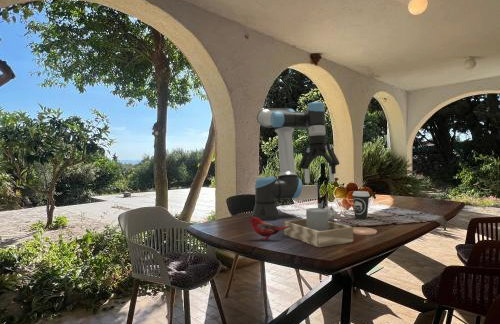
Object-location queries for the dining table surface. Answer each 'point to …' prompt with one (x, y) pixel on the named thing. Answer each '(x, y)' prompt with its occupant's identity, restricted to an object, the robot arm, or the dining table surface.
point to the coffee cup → (361, 204)
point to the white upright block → (317, 219)
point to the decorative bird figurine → (265, 228)
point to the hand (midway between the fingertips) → (319, 182)
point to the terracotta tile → (364, 231)
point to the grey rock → (331, 213)
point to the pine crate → (319, 233)
